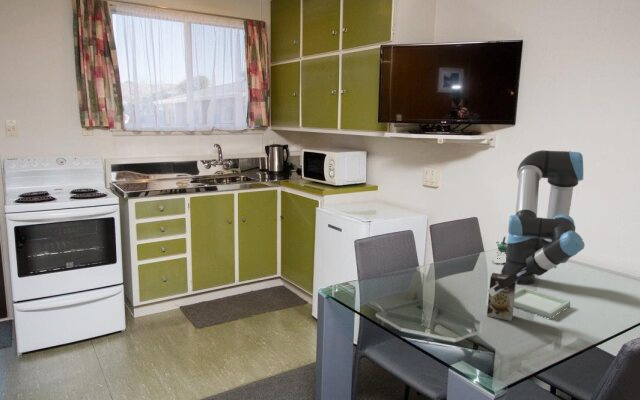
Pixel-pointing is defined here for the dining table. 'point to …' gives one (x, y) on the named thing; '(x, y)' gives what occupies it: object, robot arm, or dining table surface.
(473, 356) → the dining table surface
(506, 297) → the coffee box
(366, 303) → the dining table surface
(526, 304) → the tray
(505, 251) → the frog figurine
